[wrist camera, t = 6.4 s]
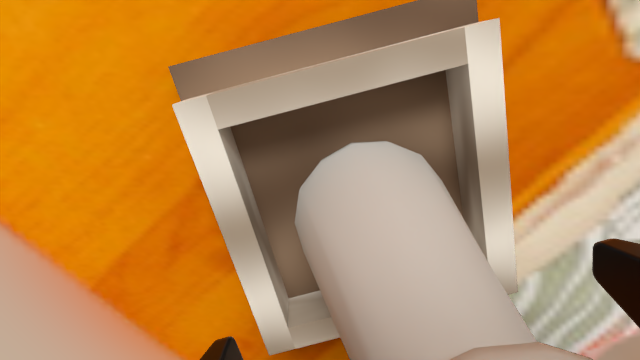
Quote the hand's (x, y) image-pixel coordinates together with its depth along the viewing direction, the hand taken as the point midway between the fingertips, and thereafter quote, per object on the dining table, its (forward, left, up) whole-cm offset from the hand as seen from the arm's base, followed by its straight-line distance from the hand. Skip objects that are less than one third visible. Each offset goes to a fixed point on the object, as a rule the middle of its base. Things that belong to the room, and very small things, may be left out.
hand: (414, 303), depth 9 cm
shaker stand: (0, 0, -8) cm, 8 cm away
